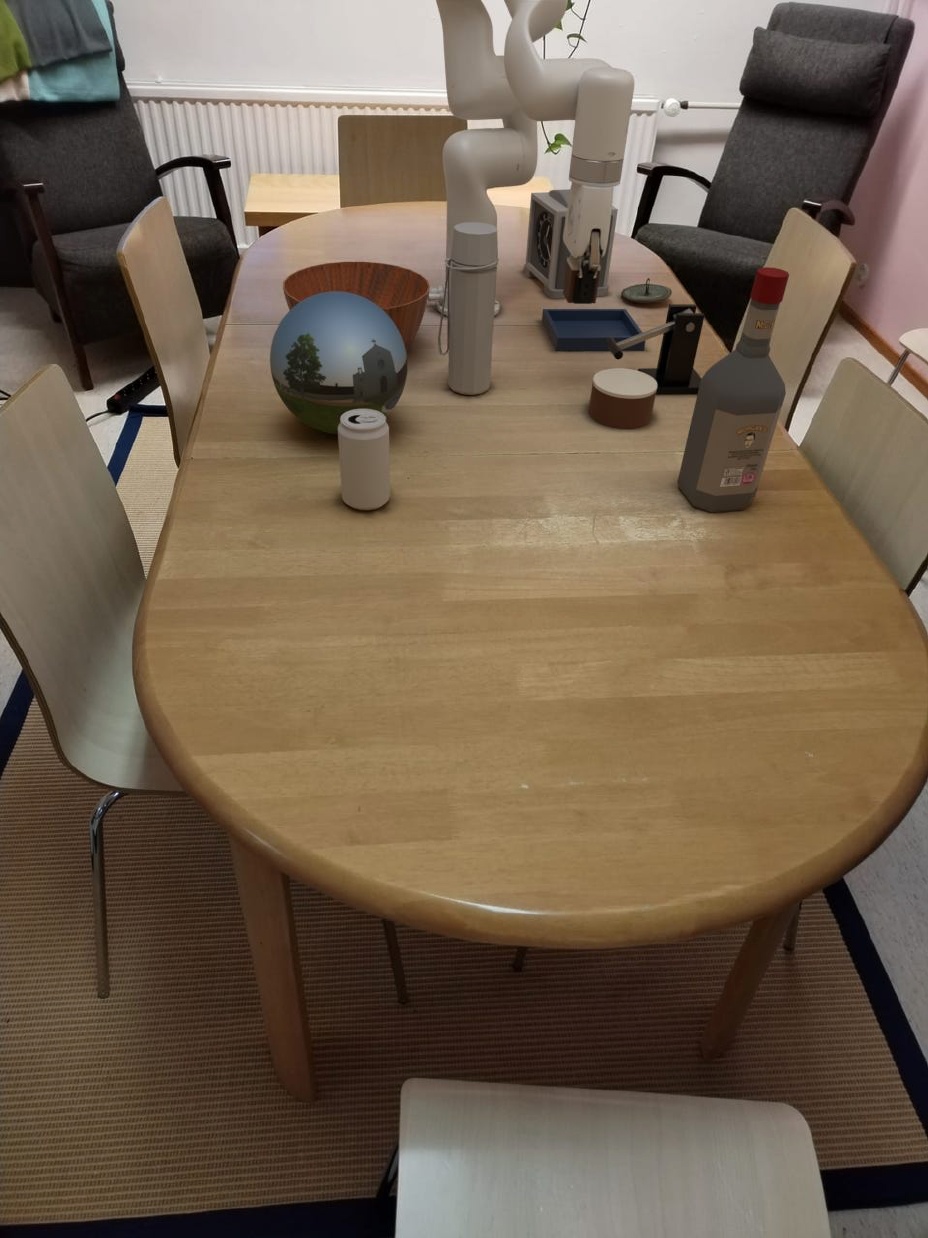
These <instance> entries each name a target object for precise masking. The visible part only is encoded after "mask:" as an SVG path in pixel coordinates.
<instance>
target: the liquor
mask: <svg viewBox="0 0 928 1238" xmlns="http://www.w3.org/2000/svg"><path fill="white" fill-rule="evenodd" d="M789 276H790V273H789V272H788V271H787V270H784V269H781V268H777V267H770V266H769V267H767V266H763V267H759V268H758V269H757V270H756V272H755V277H754V280H753V284H752V288H751V292H750V294H749V297H750V301H749V305H748V309H747V311H746V312H747V314H746V317H745V319H744V324H743V328H742V330H741V334H740V338H739V341H738V342H737V343H736V345H735V349H734V350H732V351H730V352H729V353H728V354H727V355H725V356H724V357H722V358H721V359H720V360H718V361H717V362H716V363H714V364H713V365H712V366H711V367H710V368H708V369H707V370H706V371H705V372H704V374H703V375H702V377H701V381H700V386H699V390H698V394H696V400H695V403H694V408H693V412H692V417H691V421H690V425H689V430H688V434H687V438H686V443H685V448H684V451H683V456H682V460H681V465H680V469H679V473H678V477H677V485H678V488H679V490H680V491H681V493H682V494H683V495H684V496H685V497H686V499H687V500H688V501H689V503H690V504H691V505H692V506H693V507H694V508H696V509H699V510H702V511H706V512H709V513H719V512H721V513H723V512H731V511H732V512H733V511H744V510H745V509H746V508H747V507H748V506H749V505H750V504H751V502H752V501H753V500H754V499H755V497H756V494H757V491H758V489H759V488H758V487H759V484H760V481H761V477H762V474H763V472H764V467H765V465H766V461H767V458H768V454H769V451H770V448H771V444H772V440H773V438H774V435H775V431H776V428H777V425H778V422H779V421H778V420H779V417H780V415H781V411H782V407H783V404H784V401H785V398H786V394H787V392H786V384H785V382H784V380H783V378H782V376H781V375H780V373H779V371H778V369H777V368H776V365H775V364H774V362H773V360H772V358H771V357H770V352H771V346H770V343H771V339H772V335H773V333H774V328H775V324H776V320H777V317H778V312H779V309H780V305H781V302H783V301H784V297H785V296H784V295H785V293H786V292H785V291H786V290H787V289H786V288H787V284H788V281H789Z"/></svg>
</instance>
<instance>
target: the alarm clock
mask: <svg viewBox="0 0 928 1238" xmlns="http://www.w3.org/2000/svg"><path fill="white" fill-rule="evenodd" d="M570 189H571V188H569V189H568V188H567V189H551V190H549V191H544V192H543V191H541V192H531V193H530V203H529V204H530V206H529V216H528V226H527V227H528V228H527V229H528V230H527V239H526V241H527V242H526V253H525V264H524V266H523V274H525V275H526V277H528V278H529V279H530V278H537V279H538V280H539V281H540V282H541V283H542V284H543V293H544V294H545V295H546V296H547V297H548V298H550V299H552V300H553V299H554V300H560V299H561V300H562V299H566V298H565V296H564V294H563V288H564V280H565V271H566V263H567V257H570V254H571V253H570V252H569V250H568V248H567V247H566V245H565V243H564V241H563V233H564V226H565V219H566V213H567V206H568V200H569V194H570ZM618 211H619V209H618V208H617V207H615V206H613V205H612V211H611V220H610V228H609V236H608V243H607V248H606V253H605V255H604V256H603V257H602V258H599V265H600V266H601V268H600V275H599V282H598V289H597V296H596V297H606V296H608V293H609V285H608V281H609V274H610V267H611V261H612V255H613V246H614V239H615V234H616V226H617V218H618ZM584 253H585V252H584Z"/></svg>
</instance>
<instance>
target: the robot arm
mask: <svg viewBox="0 0 928 1238" xmlns="http://www.w3.org/2000/svg"><path fill="white" fill-rule="evenodd" d="M435 2H436V7H437V10H438V13H439V18H440V22H441V28H442V40H443V41H442V42H443V57H444V59H443V60H444V73H445V85H446V87H445V88H446V89H445V90H446V98H447V104H448V107H449V111H450V113H451V114H452V115H453V116H454V117H455V118H457V119H460V120H465V121H485V120H502V127H494V128H493V127H486V128H485V127H484V128H469V129H463V130H460V131H457V132H454V133H453V134H451V135H450V136H449V137H448V138H447V139H446V141H445V143H444V145H443V149H442V167H443V173H444V174H443V175H444V183H445V193H446V236H445V260H446V259H451V252H452V243H453V235H454V228H455V225H457V224H460V223H467V222H479V223H486V224H490V225H493V226H495V227H496V228H497V229H498V214H497V210H496V207H495V205H494V204H493V202H492V200H491V199H490V196H489V195H488V190H490V189H497V188H509V187H511V188H512V187H518V186H524V185H526V184H528V183H529V182H530V181H531V180H532V179H533V178H534V176H535V174H536V170H537V166H538V158H539V157H538V156H539V155H538V153H539V152H538V151H539V149H538V148H539V147H538V145H539V144H538V122H556V121H574V126H573V134H572V135H573V136H572V145H571V154H570V161H569V172H568V180H569V182H571V185H570V188H569V189H570V194H569V200H568V206H567V213H566V219H565V226H564V233H563V241H564V243H565V245H566V247H567V248H568V250H569V252H570V253H571V254H570V257H574V258H578V257H579V264H578V276H575V283H574V291H573V299H572V301H573V303H572V304H574V305H593V304H594V303H593V299H594V292H595V285H596V278H597V270H598V267H599V258H602V257H603V256H604V255H605V253H606V248H607V243H608V236H609V228H610V220H611V211H612V206H613V204H614V203H613V202H614V201H613V198H614V187H617V186H620V184H621V179H622V173H623V167H624V159H625V152H626V147H627V139H628V133H629V125H630V121H631V120H630V118H631V113H632V107H633V100H634V99H633V98H634V92H635V78H634V75H633V74H632V72H630V71H628V70H626V69H622V68H617V67H612V66H611V65H610V64H609V63H607V62H606V61H604V60H601V59H600V58H599V59H598V58H588V57H587V58H574V57H571V58H570V57H569V58H568V57H566V58H564V57H563V58H562V57H561V58H541V57H540V55H539V53H538V51H537V49H536V47H535V45H534V43H536V42H537V41H539V40H540V39H542V38H543V37H545V36H546V35H548V34H550V32H552V31H553V30H555V28H556V27H557V26H559V23H560V22H561V21H562V19H563V18H564V16H565V14H566V11H567V9H568V3H569V0H503V2H504V4H505V6H506V8H507V11H508V14H509V16H510V18H511V21H510V24H509V26H508V28H507V32H506V35H505V41H504V47H503V52H504V53H503V55H497V54H496V52H495V47H494V27H493V22H492V19H491V15H490V13H489V11H488V10H487V7H486V6H485V4H484V2H483V1H482V0H435ZM584 252H585V253H584ZM584 260H588V263H585V265H584ZM583 265H584V268H583ZM451 266H452V263H451ZM446 274H447V270H446V269H445V277H444V279H445V280H444V281H442V282H441V285H438V286H437V287H431V286H430V290H429V295H428V302H436V301H437V302H436V309H437V311H438V312H439V313H440V314H441V312H442V304H443V297H444V289H445V282H446ZM447 292H448V281H447V288H446V296H445V304H444V312H443V316H446V317H447ZM449 292H450V295H451V269H450V270H449ZM500 311H501V304H500V302H499V301H498V300H497V299H495V309H494V317H495V316H497V315H498V314H499V313H500Z"/></svg>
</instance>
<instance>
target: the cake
mask: <svg viewBox="0 0 928 1238" xmlns="http://www.w3.org/2000/svg"><path fill="white" fill-rule="evenodd" d="M656 391H657V382H656V380H655V379H654V378H652V377H651V376H649V375H648V374H645V373H643V372H640V371H638V370H635V369H631V368H624V367H623V368H622V367H621V368H619V367H617V368H616V367H615V368H607V369H602V370H600V371H598V372H596V373H595V374H594V375H593V377H592V383H591V390H590V399H589V405H588V415H589V416H590V418H591V419H592V420H593V421H595V422H596V423H598V424H600V425H603V426H606V427H609V428H614V429H620V430H621V429H623V430H632V429H637V428H642V427H645V426H646V425H648V424H649V423H650V422H651V420H652V415H653V411H654V405H655V400H656V396H657V395H656Z"/></svg>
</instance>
